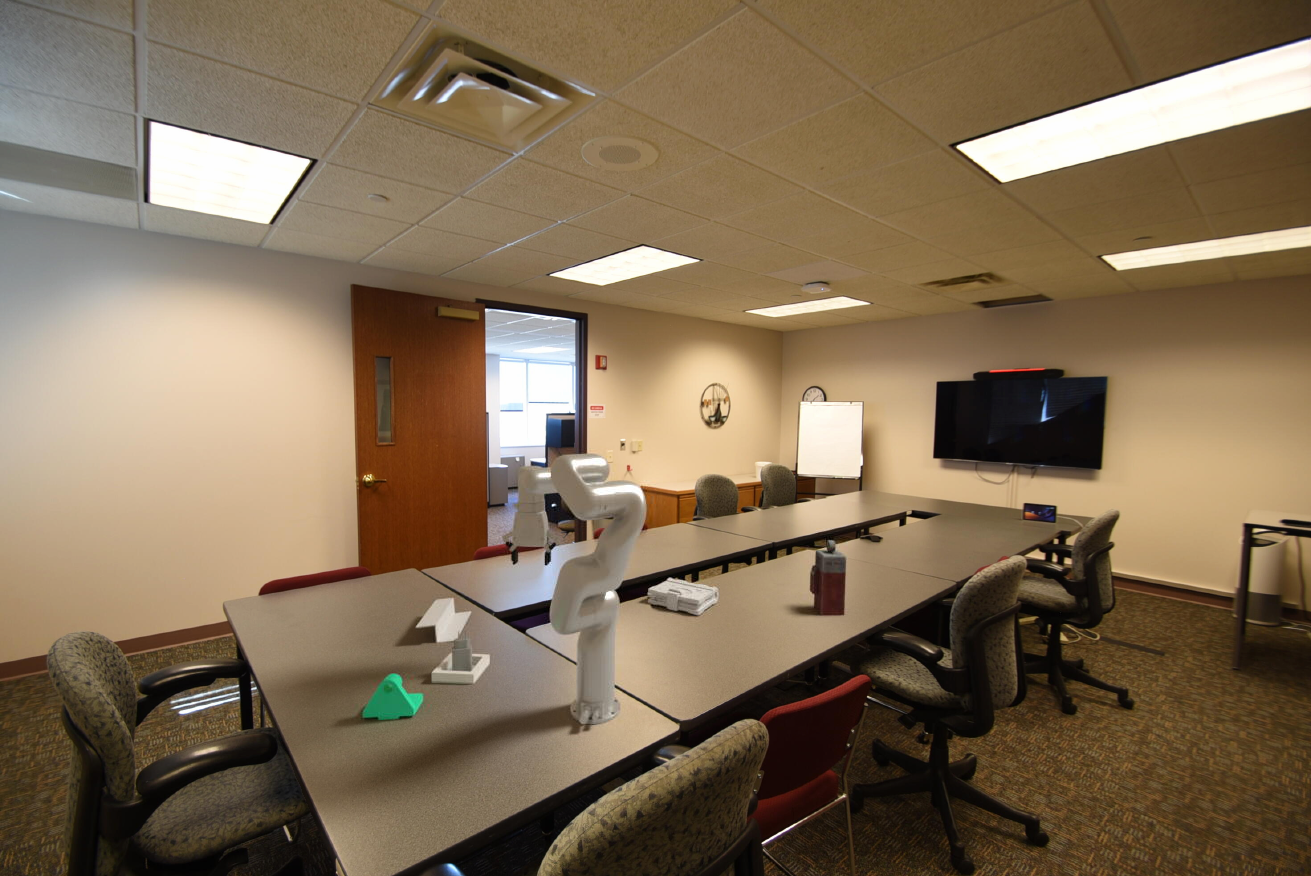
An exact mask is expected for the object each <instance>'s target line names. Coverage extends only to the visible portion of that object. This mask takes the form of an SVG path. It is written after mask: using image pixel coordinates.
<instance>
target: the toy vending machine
mask: <svg viewBox="0 0 1311 876" xmlns="http://www.w3.org/2000/svg"><path fill="white" fill-rule="evenodd" d="M825 547H826V549H817V550H815V556H814V557H815V558H814V559H815V561H814V565H812V566H811V568H810V569H811V570H810V574H809V591H810V592H811V594H812V595H814V596H813V608H814V609H815V611H816V612H817V613H818V614H819V615H820V616H823V617H825V616H827V617H828V616H829V617H830V616H845V606H846V605H845V604H846V602H845V601H846V581H847V579H846V575H847V574H846V572H847V556H846V555H845V554H843V553H842V552H841V551H839V550H838V549H837V546H836V541H835V540H830V539H827V541H826V544H825Z"/></svg>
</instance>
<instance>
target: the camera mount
mask: <svg viewBox="0 0 1311 876" xmlns="http://www.w3.org/2000/svg"><path fill="white" fill-rule="evenodd" d="M423 702H424V694H423V693H422V692H421V693H419V692H418V693H417V692H416V693H407V691H406V690H405V688H404V687H403V679H402V677H401V675H399V674H397V673H389V674H388V675H386V676H385V678H384V679H383V680H382V681H381V683H379V686H378V687H377V688H376V690H375V692H374V693H373V695H372V696H371V698H370V700H369V701H368V702H367V704H366V706H365V707H364V709H363V711H362V718H378V721H383V720H385V721H386V720H399V719H400V718H401V717H413V716H415V714H416V713H417V712H418V710H419V709H420V706H421V705H422V703H423Z"/></svg>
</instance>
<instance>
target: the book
mask: <svg viewBox="0 0 1311 876" xmlns="http://www.w3.org/2000/svg"><path fill="white" fill-rule="evenodd" d="M647 591H648V592H647V595H648V596H649V598H648V599H647V603H648V604H651V605H655V606H663V607H666V609H667V610H671V611H675V612H678V611H683V612H687V613H688V614H692V615H694V616H700V615H701V614H702V613H704V612H705V610H706V609H709V608H710V607H711V606H712V605H716V604H717V602H718V600H719V589H718V587H716V586H709V585H707V584H701V583H693V582H688V581H687V580H683V579H674V578H672V577H668V578H667V579H666V580H665V581H662V582H661V583H659V584H657V585H654V586H651V587H649V588H648V590H647ZM715 603H716V604H715Z"/></svg>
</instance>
